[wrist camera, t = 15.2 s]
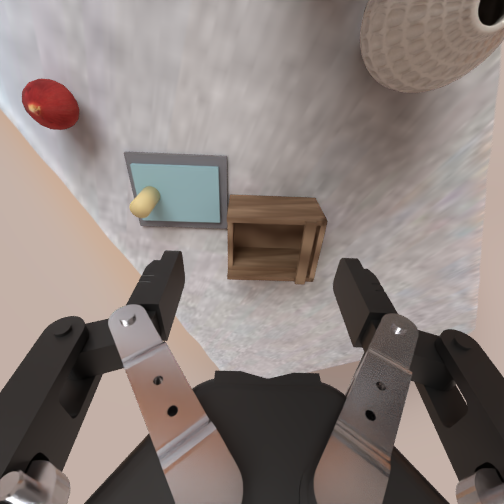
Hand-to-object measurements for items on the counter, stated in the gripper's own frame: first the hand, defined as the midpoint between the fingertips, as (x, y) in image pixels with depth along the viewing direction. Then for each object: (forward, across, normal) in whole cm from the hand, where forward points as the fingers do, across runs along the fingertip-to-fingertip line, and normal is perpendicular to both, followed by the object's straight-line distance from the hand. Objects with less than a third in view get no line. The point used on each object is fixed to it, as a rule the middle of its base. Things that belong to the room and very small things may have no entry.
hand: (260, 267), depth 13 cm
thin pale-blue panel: (+32, +12, +10) cm, 35 cm away
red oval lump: (+32, +27, -3) cm, 42 cm away
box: (+32, -4, +16) cm, 36 cm away
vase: (+33, -17, -13) cm, 39 cm away
